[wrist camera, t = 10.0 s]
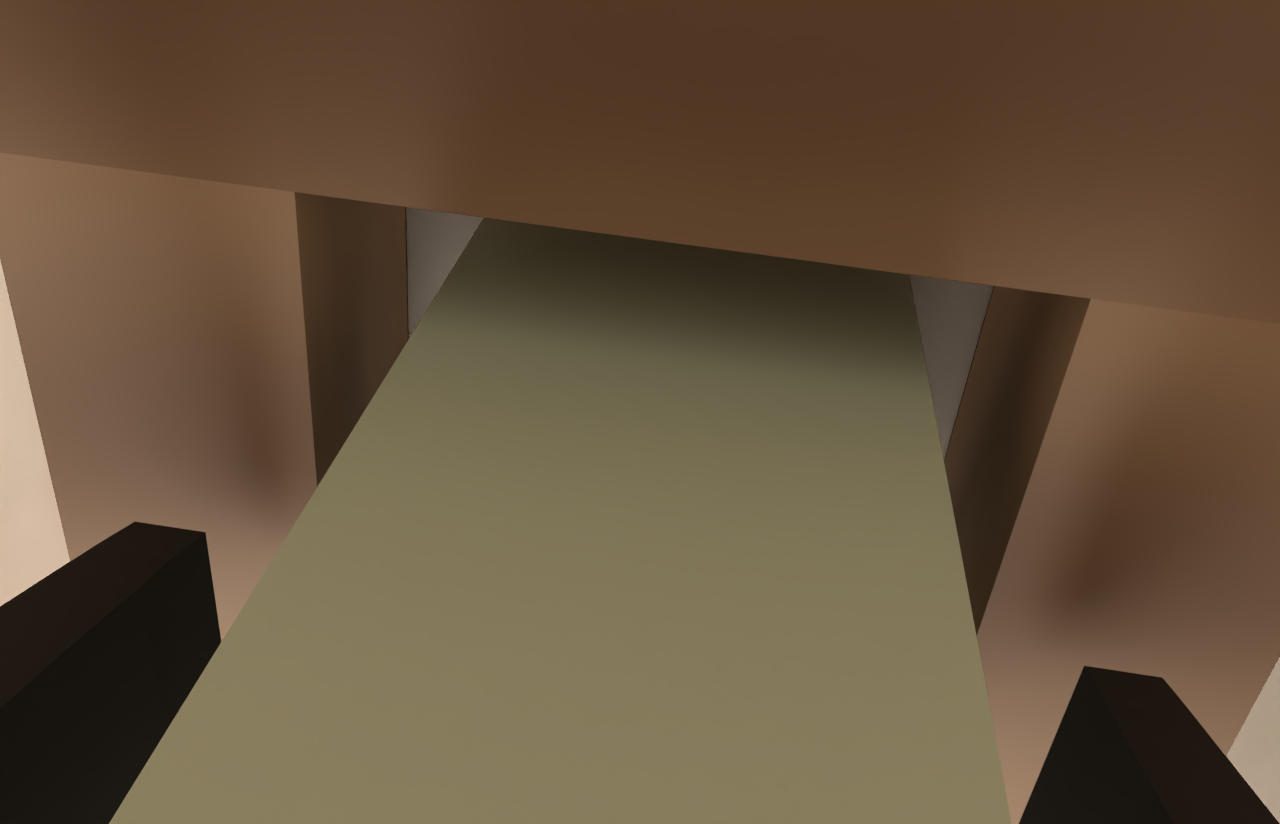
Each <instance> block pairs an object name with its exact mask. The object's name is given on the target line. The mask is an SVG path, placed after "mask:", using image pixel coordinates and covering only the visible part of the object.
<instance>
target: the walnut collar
mask: <svg viewBox="0 0 1280 824" xmlns="http://www.w3.org/2000/svg"><path fill="white" fill-rule="evenodd" d="M405 207H410V208H417V209H425V210H432V211H440V212H447V213H455V214H462V215H470V216H477V217H485V218H492V219H499V220H507V221H514V222H522V223H529V224H537V225H544V226H552V227H559V228H567V229H574V230H581V231H589V232H596V233H604V234H611V235H619V236H626V237H634V238H641V239H649V240H656V241H664V242H671V243H678V244H686V245H693V246H701V247H708V248H716V249H723V250H731V251H738V252H746V253H753V254H761V255H768V256H775V257H783V258H790V259H798V260H805V261H813V262H820V263H828V264H835V265H843V266H850V267H858V268H865V269H872V270H880V271H887V272H895V273H902V274H910V275H917V276H925V277H932V278H940V279H947V280H955V281H962V282H969V283H977V284H984V285H992V286H994V289H993V293H992V296H991V300H990V303H989V307H988V310H987V314H986V317H985V321H984V324H983V328H982V331H981V335H980V338H979V342H978V345H977V349H976V352H975V356H974V359H973V363H972V366H971V370H970V373H969V377H968V380H967V384H966V387H965V391H964V394H963V398H962V401H961V405H960V408H959V412H958V415H957V419H956V422H955V426H954V429H953V433H952V436H951V440H950V443H949V447H948V450H947V454H946V457H945V461H944V464H945V469H946V475H947V480H948V486H949V491H950V496H951V502H952V507H953V512H954V518H955V523H956V528H957V534H958V539H959V544H960V550H961V555H962V561H963V566H964V571H965V577H966V582H967V587H968V593H969V598H970V603H971V609H972V614H973V619H974V625H975V630H976V636H977V641H978V646H979V652H980V657H981V662H982V668H983V673H984V678H985V684H986V689H987V695H988V700H989V705H990V711H991V716H992V721H993V727H994V732H995V737H996V743H997V748H998V753H999V759H1000V764H1001V770H1002V775H1003V780H1004V786H1005V791H1006V796H1007V802H1008V807H1009V812H1010V818H1011V823H1012V824H1019V822H1020V820H1021V817H1022V815H1023V812H1024V810H1025V807H1026V805H1027V803H1028V800H1029V798H1030V795H1031V793H1032V791H1033V788H1034V786H1035V783H1036V781H1037V779H1038V776H1039V774H1040V771H1041V769H1042V766H1043V764H1044V762H1045V759H1046V757H1047V754H1048V752H1049V750H1050V747H1051V745H1052V742H1053V740H1054V738H1055V735H1056V733H1057V730H1058V728H1059V725H1060V723H1061V721H1062V718H1063V716H1064V713H1065V711H1066V709H1067V706H1068V704H1069V701H1070V699H1071V697H1072V694H1073V692H1074V689H1075V687H1076V684H1077V682H1078V680H1079V677H1080V675H1081V672H1082V670H1083V668H1084V666H1090V667H1096V668H1103V669H1109V670H1116V671H1123V672H1129V673H1136V674H1142V675H1149V676H1156V677H1162V678H1163V679H1164V680H1165V681H1166V682H1167V684H1168V685H1169V686H1170V687H1171V688H1172V690H1173V691H1174V692H1175V693H1176V694H1177V696H1178V697H1179V698H1180V699H1181V701H1182V702H1183V703H1184V704H1185V705H1186V707H1187V708H1188V709H1189V710H1190V712H1191V713H1192V714H1193V715H1194V717H1195V718H1196V719H1197V720H1198V722H1199V723H1200V724H1201V726H1202V727H1203V728H1204V729H1205V731H1206V732H1207V733H1208V734H1209V736H1210V737H1211V738H1212V739H1213V741H1214V742H1215V743H1216V744H1217V746H1218V747H1219V748H1220V750H1221V751H1222V752H1223V753H1224V755H1225V756H1226V755H1227V753H1228V751H1229V749H1230V747H1231V746H1232V744H1233V742H1234V740H1235V738H1236V736H1237V734H1238V733H1239V731H1240V729H1241V727H1242V725H1243V723H1244V721H1245V720H1246V718H1247V716H1248V714H1249V712H1250V710H1251V708H1252V707H1253V705H1254V703H1255V701H1256V699H1257V697H1258V696H1259V694H1260V692H1261V690H1262V688H1263V686H1264V684H1265V683H1266V681H1267V679H1268V677H1269V675H1270V673H1271V671H1272V670H1273V668H1274V666H1275V664H1276V662H1277V660H1278V658H1279V657H1280V0H0V259H1V263H2V268H3V272H4V276H5V281H6V285H7V289H8V294H9V298H10V302H11V306H12V311H13V315H14V319H15V324H16V328H17V332H18V337H19V341H20V345H21V350H22V354H23V358H24V363H25V367H26V371H27V376H28V380H29V384H30V389H31V393H32V397H33V402H34V406H35V410H36V415H37V419H38V423H39V428H40V432H41V436H42V441H43V445H44V449H45V454H46V458H47V462H48V467H49V471H50V475H51V480H52V484H53V488H54V493H55V497H56V501H57V506H58V510H59V514H60V518H61V523H62V527H63V531H64V536H65V540H66V544H67V549H68V553H69V557H70V561H72V560H73V559H75V558H76V557H78V556H80V555H81V554H83V553H84V552H86V551H87V550H89V549H91V548H92V547H94V546H95V545H97V544H99V543H100V542H102V541H103V540H105V539H107V538H108V537H110V536H111V535H113V534H115V533H116V532H118V531H120V530H122V529H123V528H125V527H127V526H128V525H130V524H132V523H133V522H142V523H148V524H155V525H161V526H168V527H175V528H181V529H188V530H194V531H201V532H206V539H207V546H208V553H209V560H210V567H211V573H212V580H213V587H214V594H215V601H216V608H217V615H218V622H219V629H220V636H221V642H222V640H223V639H224V637H225V635H226V634H227V632H228V631H229V629H230V627H231V626H232V624H233V622H234V621H235V619H236V618H237V616H238V614H239V613H240V611H241V610H242V608H243V606H244V605H245V603H246V601H247V600H248V598H249V597H250V595H251V593H252V592H253V590H254V589H255V587H256V585H257V584H258V582H259V580H260V579H261V577H262V576H263V574H264V572H265V571H266V569H267V568H268V566H269V564H270V563H271V561H272V559H273V558H274V556H275V555H276V553H277V551H278V550H279V548H280V547H281V545H282V543H283V542H284V540H285V538H286V537H287V535H288V534H289V532H290V530H291V529H292V527H293V526H294V524H295V522H296V521H297V519H298V517H299V516H300V514H301V513H302V511H303V509H304V508H305V506H306V505H307V503H308V501H309V500H310V498H311V496H312V495H313V493H314V492H315V490H316V488H317V487H318V485H319V484H320V482H321V480H322V479H323V477H324V475H325V474H326V472H327V471H328V469H329V467H330V466H331V464H332V463H333V461H334V459H335V458H336V456H337V454H338V453H339V451H340V450H341V448H342V446H343V445H344V443H345V442H346V440H347V438H348V437H349V435H350V433H351V432H352V430H353V429H354V427H355V425H356V424H357V422H358V421H359V419H360V417H361V416H362V414H363V412H364V411H365V409H366V408H367V406H368V404H369V403H370V401H371V400H372V398H373V396H374V395H375V393H376V391H377V390H378V388H379V387H380V385H381V383H382V382H383V380H384V379H385V377H386V375H387V374H388V372H389V370H390V369H391V367H392V366H393V364H394V362H395V361H396V359H397V358H398V356H399V354H400V353H401V351H402V349H403V348H404V346H405V345H406V343H407V341H408V321H407V275H406V229H405Z"/></svg>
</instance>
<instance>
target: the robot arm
mask: <svg viewBox="0 0 1280 824" xmlns="http://www.w3.org/2000/svg"><path fill="white" fill-rule="evenodd" d="M220 643H221V636H220V629H219V622H218V615H217V608H216V601H215V594H214V587H213V580H212V573H211V567H210V560H209V553H208V546H207V539H206V532H201V531H194V530H188V529H181V528H175V527H168V526H161V525H155V524H148V523H142V522H133V523H132V524H130V525H128V526H127V527H125V528H123V529H122V530H120V531H118V532H116V533H115V534H113V535H111V536H110V537H108V538H107V539H105V540H103V541H102V542H100V543H99V544H97V545H95V546H94V547H92V548H91V549H89V550H87V551H86V552H84V553H83V554H81V555H80V556H78V557H76V558H75V559H73V560H72V561H70V562H69V563H67V564H66V565H64V566H62V567H61V568H59V569H58V570H56V571H55V572H53V573H52V574H50V575H49V576H47V577H45V578H44V579H42V580H41V581H39V582H38V583H36V584H35V585H33V586H32V587H30V588H28V589H27V590H25V591H24V592H22V593H21V594H19V595H18V596H16V597H15V598H13V599H11V600H10V601H8V602H7V603H5V604H4V605H2V606H1V607H0V824H109V823H110V821H111V820H112V818H113V816H114V815H115V813H116V811H117V810H118V808H119V807H120V805H121V803H122V802H123V800H124V799H125V797H126V795H127V794H128V792H129V790H130V789H131V787H132V786H133V784H134V782H135V781H136V779H137V778H138V776H139V774H140V773H141V771H142V769H143V768H144V766H145V765H146V763H147V761H148V760H149V758H150V757H151V755H152V753H153V752H154V750H155V748H156V747H157V745H158V744H159V742H160V740H161V739H162V737H163V736H164V734H165V732H166V731H167V729H168V727H169V726H170V724H171V723H172V721H173V719H174V718H175V716H176V715H177V713H178V711H179V710H180V708H181V706H182V705H183V703H184V702H185V700H186V698H187V697H188V695H189V694H190V692H191V690H192V689H193V687H194V685H195V684H196V682H197V681H198V679H199V677H200V676H201V674H202V673H203V671H204V669H205V668H206V666H207V664H208V663H209V661H210V660H211V658H212V656H213V655H214V653H215V652H216V650H217V648H218V647H219V645H220ZM1019 824H1279V822H1278V821H1277V820H1276V819H1275V817H1274V816H1273V815H1272V814H1271V812H1270V811H1269V810H1268V809H1267V807H1266V806H1265V805H1264V804H1263V802H1262V801H1261V800H1260V799H1259V797H1258V796H1257V795H1256V794H1255V792H1254V791H1253V790H1252V789H1251V787H1250V786H1249V785H1248V784H1247V782H1246V781H1245V780H1244V779H1243V777H1242V776H1241V775H1240V774H1239V772H1238V771H1237V770H1236V768H1235V767H1234V766H1233V765H1232V763H1231V762H1230V761H1229V760H1228V758H1227V757H1226V756H1225V755H1224V753H1223V752H1222V751H1221V750H1220V748H1219V747H1218V746H1217V744H1216V743H1215V742H1214V741H1213V739H1212V738H1211V737H1210V736H1209V734H1208V733H1207V732H1206V731H1205V729H1204V728H1203V727H1202V726H1201V724H1200V723H1199V722H1198V720H1197V719H1196V718H1195V717H1194V715H1193V714H1192V713H1191V712H1190V710H1189V709H1188V708H1187V707H1186V705H1185V704H1184V703H1183V702H1182V701H1181V699H1180V698H1179V697H1178V696H1177V694H1176V693H1175V692H1174V691H1173V690H1172V688H1171V687H1170V686H1169V685H1168V684H1167V682H1166V681H1165V680H1164V679H1163V678H1162V677H1156V676H1149V675H1142V674H1136V673H1129V672H1123V671H1116V670H1109V669H1103V668H1096V667H1090V666H1084V668H1083V670H1082V672H1081V675H1080V677H1079V680H1078V682H1077V684H1076V687H1075V689H1074V692H1073V694H1072V697H1071V699H1070V701H1069V704H1068V706H1067V709H1066V711H1065V713H1064V716H1063V718H1062V721H1061V723H1060V725H1059V728H1058V730H1057V733H1056V735H1055V738H1054V740H1053V742H1052V745H1051V747H1050V750H1049V752H1048V754H1047V757H1046V759H1045V762H1044V764H1043V766H1042V769H1041V771H1040V774H1039V776H1038V779H1037V781H1036V783H1035V786H1034V788H1033V791H1032V793H1031V795H1030V798H1029V800H1028V803H1027V805H1026V807H1025V810H1024V812H1023V815H1022V817H1021V820H1020V822H1019Z"/></svg>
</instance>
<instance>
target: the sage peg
mask: <svg viewBox="0 0 1280 824" xmlns="http://www.w3.org/2000/svg"><path fill="white" fill-rule="evenodd" d="M109 824H1012V823H1011V818H1010V812H1009V807H1008V802H1007V796H1006V791H1005V786H1004V780H1003V775H1002V770H1001V764H1000V759H999V753H998V748H997V743H996V737H995V732H994V727H993V721H992V716H991V711H990V705H989V700H988V695H987V689H986V684H985V678H984V673H983V668H982V662H981V657H980V652H979V646H978V641H977V636H976V630H975V625H974V619H973V614H972V609H971V603H970V598H969V593H968V587H967V582H966V577H965V571H964V566H963V561H962V555H961V550H960V544H959V539H958V534H957V528H956V523H955V518H954V512H953V507H952V502H951V496H950V491H949V486H948V480H947V475H946V469H945V464H944V459H943V453H942V448H941V443H940V437H939V432H938V427H937V421H936V416H935V411H934V405H933V400H932V394H931V389H930V384H929V378H928V373H927V368H926V362H925V357H924V352H923V346H922V341H921V336H920V330H919V325H918V319H917V314H916V309H915V303H914V298H913V293H912V287H911V282H910V277H909V274H902V273H895V272H887V271H880V270H872V269H865V268H858V267H850V266H843V265H835V264H828V263H820V262H813V261H805V260H798V259H790V258H783V257H775V256H768V255H761V254H753V253H746V252H738V251H731V250H723V249H716V248H708V247H701V246H693V245H686V244H678V243H671V242H664V241H656V240H649V239H641V238H634V237H626V236H619V235H611V234H604V233H596V232H589V231H581V230H574V229H567V228H559V227H552V226H544V225H537V224H529V223H522V222H514V221H507V220H499V219H492V218H485V217H484V219H483V220H482V222H481V224H480V225H479V227H478V228H477V230H476V232H475V233H474V235H473V236H472V238H471V240H470V241H469V243H468V245H467V246H466V248H465V249H464V251H463V253H462V254H461V256H460V257H459V259H458V261H457V262H456V264H455V266H454V267H453V269H452V270H451V272H450V274H449V275H448V277H447V278H446V280H445V282H444V283H443V285H442V287H441V288H440V290H439V291H438V293H437V295H436V296H435V298H434V299H433V301H432V303H431V304H430V306H429V307H428V309H427V311H426V312H425V314H424V316H423V317H422V319H421V320H420V322H419V324H418V325H417V327H416V328H415V330H414V332H413V333H412V335H411V337H410V338H409V340H408V341H407V343H406V345H405V346H404V348H403V349H402V351H401V353H400V354H399V356H398V358H397V359H396V361H395V362H394V364H393V366H392V367H391V369H390V370H389V372H388V374H387V375H386V377H385V379H384V380H383V382H382V383H381V385H380V387H379V388H378V390H377V391H376V393H375V395H374V396H373V398H372V400H371V401H370V403H369V404H368V406H367V408H366V409H365V411H364V412H363V414H362V416H361V417H360V419H359V421H358V422H357V424H356V425H355V427H354V429H353V430H352V432H351V433H350V435H349V437H348V438H347V440H346V442H345V443H344V445H343V446H342V448H341V450H340V451H339V453H338V454H337V456H336V458H335V459H334V461H333V463H332V464H331V466H330V467H329V469H328V471H327V472H326V474H325V475H324V477H323V479H322V480H321V482H320V484H319V485H318V487H317V488H316V490H315V492H314V493H313V495H312V496H311V498H310V500H309V501H308V503H307V505H306V506H305V508H304V509H303V511H302V513H301V514H300V516H299V517H298V519H297V521H296V522H295V524H294V526H293V527H292V529H291V530H290V532H289V534H288V535H287V537H286V538H285V540H284V542H283V543H282V545H281V547H280V548H279V550H278V551H277V553H276V555H275V556H274V558H273V559H272V561H271V563H270V564H269V566H268V568H267V569H266V571H265V572H264V574H263V576H262V577H261V579H260V580H259V582H258V584H257V585H256V587H255V589H254V590H253V592H252V593H251V595H250V597H249V598H248V600H247V601H246V603H245V605H244V606H243V608H242V610H241V611H240V613H239V614H238V616H237V618H236V619H235V621H234V622H233V624H232V626H231V627H230V629H229V631H228V632H227V634H226V635H225V637H224V639H223V640H222V642H221V643H220V645H219V647H218V648H217V650H216V652H215V653H214V655H213V656H212V658H211V660H210V661H209V663H208V664H207V666H206V668H205V669H204V671H203V673H202V674H201V676H200V677H199V679H198V681H197V682H196V684H195V685H194V687H193V689H192V690H191V692H190V694H189V695H188V697H187V698H186V700H185V702H184V703H183V705H182V706H181V708H180V710H179V711H178V713H177V715H176V716H175V718H174V719H173V721H172V723H171V724H170V726H169V727H168V729H167V731H166V732H165V734H164V736H163V737H162V739H161V740H160V742H159V744H158V745H157V747H156V748H155V750H154V752H153V753H152V755H151V757H150V758H149V760H148V761H147V763H146V765H145V766H144V768H143V769H142V771H141V773H140V774H139V776H138V778H137V779H136V781H135V782H134V784H133V786H132V787H131V789H130V790H129V792H128V794H127V795H126V797H125V799H124V800H123V802H122V803H121V805H120V807H119V808H118V810H117V811H116V813H115V815H114V816H113V818H112V820H111V821H110V823H109Z"/></svg>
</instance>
